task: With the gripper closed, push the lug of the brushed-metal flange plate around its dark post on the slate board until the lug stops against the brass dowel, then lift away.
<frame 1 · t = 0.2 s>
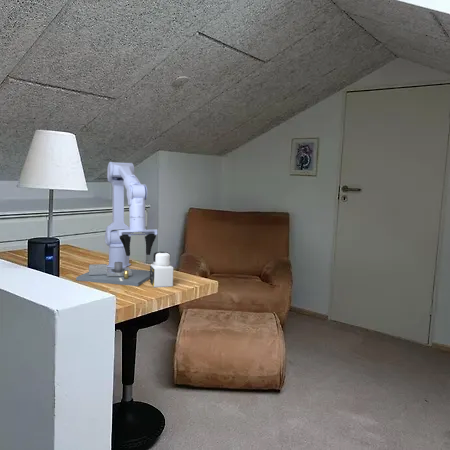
hand: (138, 255, 162), 11 cm above the table, tool pointing down, fingers open, 7 cm apart
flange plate: (110, 269, 171), point 3 cm above the table, hinge at 0.0°
medicine bottle: (161, 285, 164), on the table
board: (118, 277, 173), on the table
dowel: (126, 281, 166), resting on board
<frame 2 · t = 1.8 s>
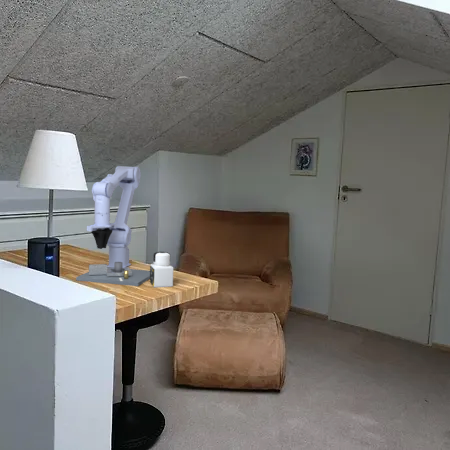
hand: (101, 248, 175), 10 cm above the table, tool pointing down, fingers closed
nothing on the table moved.
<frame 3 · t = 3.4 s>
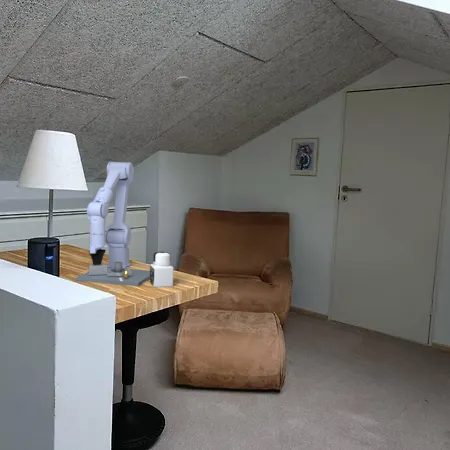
hand: (97, 268, 172), 3 cm above the table, tool pointing down, fingers closed
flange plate: (110, 269, 171), point 3 cm above the table, hinge at 0.0°, touching gripper
everything else where it was.
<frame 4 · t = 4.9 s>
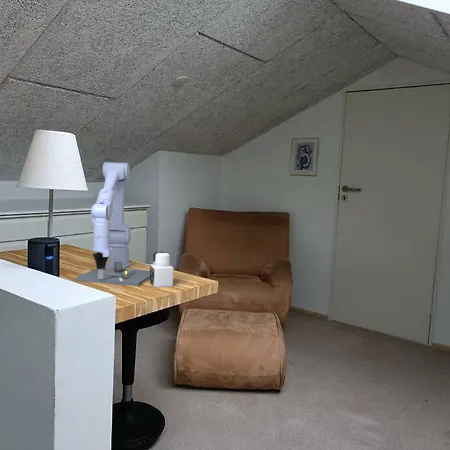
hand: (100, 272, 166), 3 cm above the table, tool pointing down, fingers closed, pressing on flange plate
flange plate: (113, 270, 169), point 3 cm above the table, hinge at 48.6°, touching gripper
everything else where it was.
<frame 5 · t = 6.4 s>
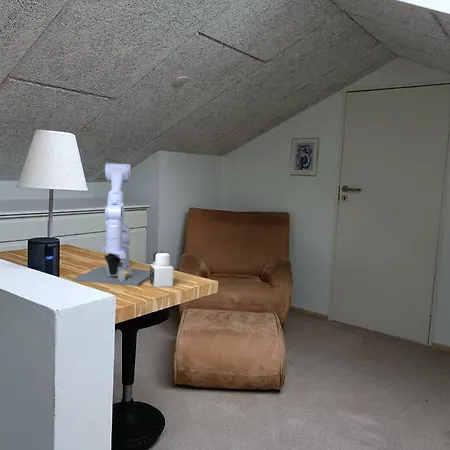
hand: (113, 274, 164), 3 cm above the table, tool pointing down, fingers closed, pressing on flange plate
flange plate: (119, 270, 169), point 3 cm above the table, hinge at 90.6°, touching dowel, gripper
everything else where it was.
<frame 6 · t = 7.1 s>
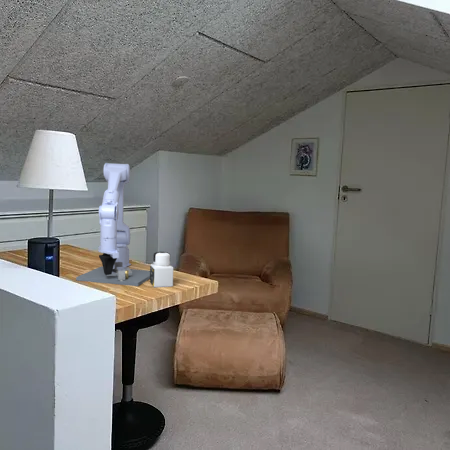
hand: (108, 274, 164), 3 cm above the table, tool pointing down, fingers closed
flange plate: (119, 270, 169), point 3 cm above the table, hinge at 90.6°, touching dowel
everything else where it was.
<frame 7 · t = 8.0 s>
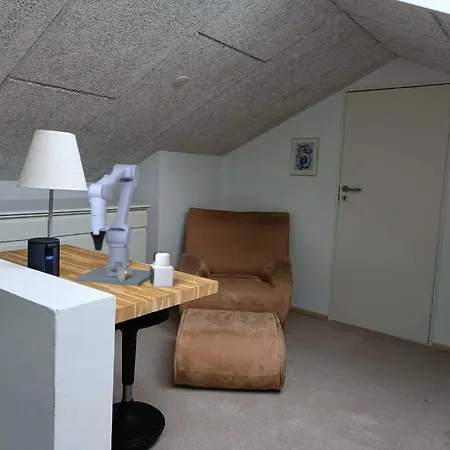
hand: (98, 250, 173), 10 cm above the table, tool pointing down, fingers closed
nothing on the table moved.
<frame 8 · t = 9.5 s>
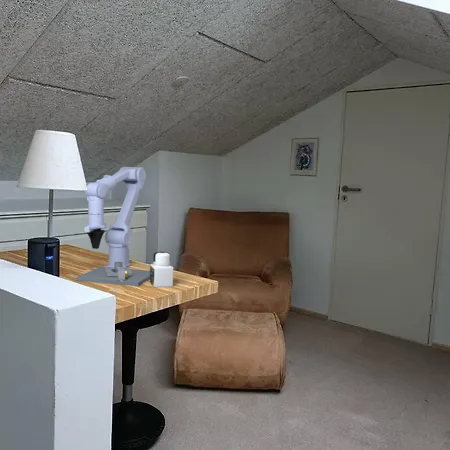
hand: (95, 248, 176), 10 cm above the table, tool pointing down, fingers closed
nothing on the table moved.
at the end: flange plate at +91° (first picture: +0°); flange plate touching dowel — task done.
